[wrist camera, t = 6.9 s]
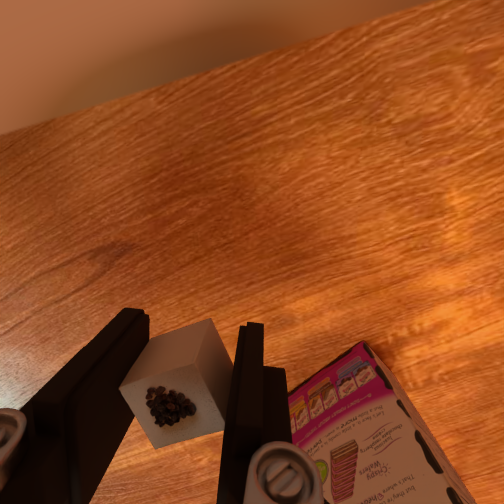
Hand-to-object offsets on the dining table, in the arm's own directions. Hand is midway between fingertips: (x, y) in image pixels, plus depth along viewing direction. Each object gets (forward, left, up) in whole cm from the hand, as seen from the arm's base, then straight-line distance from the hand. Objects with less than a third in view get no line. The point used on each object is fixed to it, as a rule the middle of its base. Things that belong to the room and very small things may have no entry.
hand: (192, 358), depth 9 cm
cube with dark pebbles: (0, 0, 0) cm, 0 cm away
